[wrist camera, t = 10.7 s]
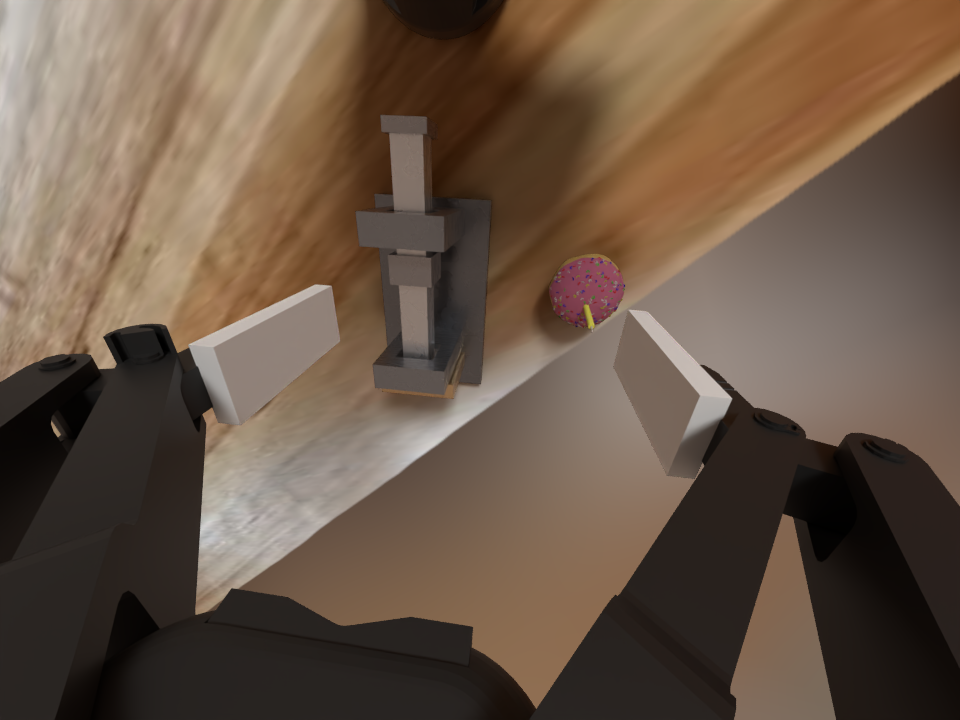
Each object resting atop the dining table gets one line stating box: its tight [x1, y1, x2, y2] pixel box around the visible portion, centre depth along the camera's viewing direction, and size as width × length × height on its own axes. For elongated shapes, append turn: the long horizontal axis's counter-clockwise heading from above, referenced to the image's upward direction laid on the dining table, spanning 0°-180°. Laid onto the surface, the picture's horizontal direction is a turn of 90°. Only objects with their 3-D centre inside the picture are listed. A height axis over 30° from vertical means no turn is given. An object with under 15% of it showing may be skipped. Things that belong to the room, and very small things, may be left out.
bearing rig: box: [355, 194, 492, 395], centre depth 41 cm, size 25×14×14 cm, turn 177°
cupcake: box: [549, 254, 625, 333], centre depth 39 cm, size 9×8×12 cm
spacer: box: [382, 352, 465, 399], centre depth 46 cm, size 2×9×9 cm, turn 87°
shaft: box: [380, 115, 441, 360], centre depth 36 cm, size 24×4×4 cm, turn 177°
